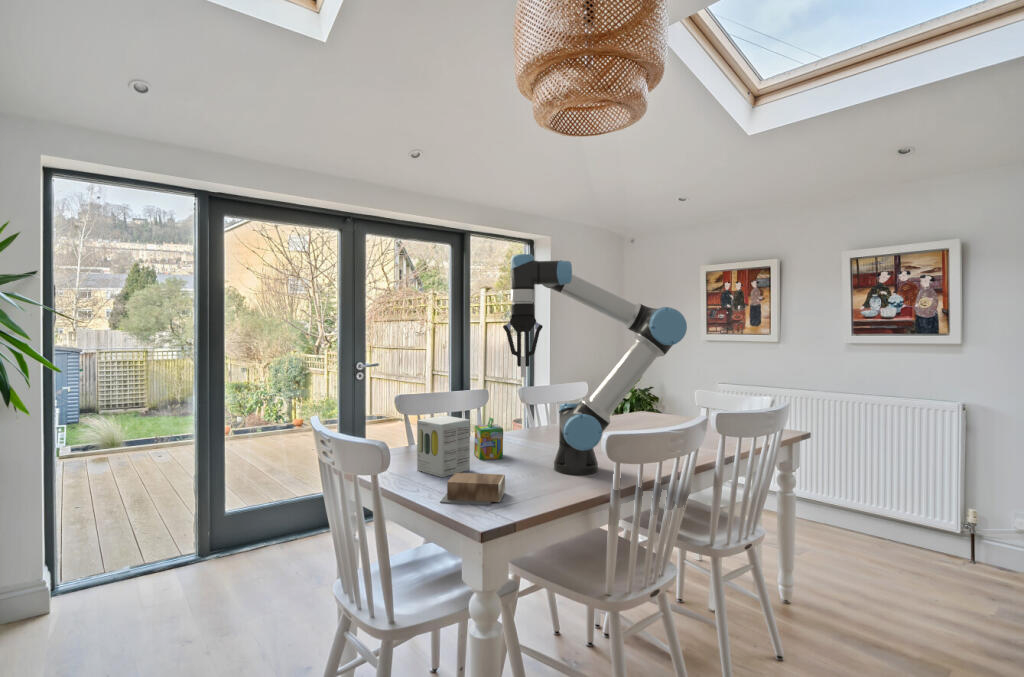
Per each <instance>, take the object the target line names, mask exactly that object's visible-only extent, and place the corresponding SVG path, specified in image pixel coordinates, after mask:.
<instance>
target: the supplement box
mask: <svg viewBox="0 0 1024 677" xmlns="http://www.w3.org/2000/svg"><path fill="white" fill-rule="evenodd" d="M416 434H417V435H416V437H417V438H416V439H417V440H416V443H417V445H416V448H417V449H416V450H417V451H416V453H417V454H416V456H417V458H416V470H417V471H418V472H421V471H422V473H426V474H429V475H432V474H433V476H437V477H439V476H440V477H441V478H443V477H447V476H448V477H449V476H453V475H454V474H455V473H464V472H467V471H470V468H471V466H470V465H471V463H470V461H471V456H470V455H471V454H470V452H471V451H470V450H471V447H470V446H471V420H470V419H468V418H461V417H455V416H451V415H450V416H449V415H439V416H434V417H433V416H432V417H428V418H422V419H417V420H416Z"/></svg>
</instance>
